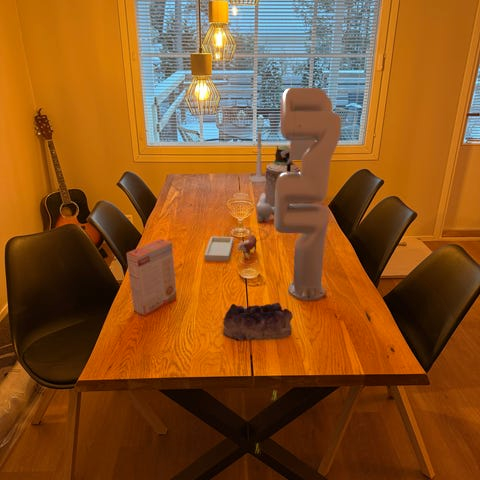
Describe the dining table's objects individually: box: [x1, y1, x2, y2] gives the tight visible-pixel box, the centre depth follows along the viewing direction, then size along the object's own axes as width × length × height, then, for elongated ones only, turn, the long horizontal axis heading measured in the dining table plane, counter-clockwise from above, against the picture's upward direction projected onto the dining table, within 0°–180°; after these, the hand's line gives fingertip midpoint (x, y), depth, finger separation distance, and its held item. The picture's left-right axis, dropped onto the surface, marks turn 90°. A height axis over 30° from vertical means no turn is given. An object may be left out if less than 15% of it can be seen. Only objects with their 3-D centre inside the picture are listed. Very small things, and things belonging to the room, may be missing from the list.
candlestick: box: [248, 132, 266, 184], centre depth 276 cm, size 13×13×30 cm
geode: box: [222, 302, 294, 342], centre depth 128 cm, size 20×12×10 cm, turn 99°
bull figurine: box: [236, 234, 257, 258], centre depth 176 cm, size 4×13×8 cm, turn 152°
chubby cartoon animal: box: [256, 203, 275, 223], centre depth 213 cm, size 8×12×9 cm, turn 89°
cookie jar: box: [256, 144, 305, 208], centre depth 232 cm, size 25×25×32 cm
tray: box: [204, 236, 234, 262], centre depth 182 cm, size 19×10×2 cm, turn 176°
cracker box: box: [125, 238, 178, 317], centre depth 140 cm, size 14×6×21 cm, turn 141°
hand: (301, 173), depth 180 cm, fingers open, 9 cm apart
